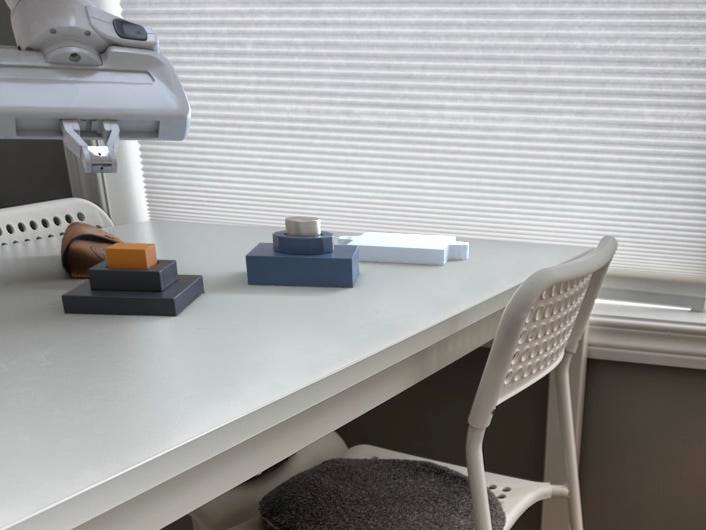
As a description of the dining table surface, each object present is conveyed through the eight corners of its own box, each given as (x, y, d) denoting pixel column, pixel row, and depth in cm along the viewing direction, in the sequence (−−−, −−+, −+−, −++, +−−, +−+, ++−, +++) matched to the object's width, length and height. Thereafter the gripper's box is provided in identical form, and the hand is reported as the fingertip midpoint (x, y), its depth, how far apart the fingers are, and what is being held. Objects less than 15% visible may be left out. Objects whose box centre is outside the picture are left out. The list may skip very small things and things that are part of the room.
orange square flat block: (108, 271, 88) (104, 248, 87) (119, 265, 91) (116, 242, 90) (148, 272, 88) (144, 249, 87) (157, 266, 91) (154, 243, 90)
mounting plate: (472, 251, 136) (473, 237, 135) (462, 266, 125) (463, 250, 124) (349, 245, 137) (348, 231, 136) (328, 259, 126) (327, 243, 125)
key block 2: (247, 285, 109) (243, 238, 106) (261, 270, 117) (258, 226, 115) (352, 288, 109) (351, 241, 107) (359, 273, 118) (358, 229, 115)
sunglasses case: (142, 272, 110) (103, 219, 106) (92, 306, 110) (51, 254, 106) (133, 248, 125) (98, 201, 121) (89, 279, 124) (52, 232, 120)
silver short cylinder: (283, 239, 109) (282, 220, 108) (288, 234, 112) (287, 215, 111) (318, 240, 109) (317, 221, 108) (322, 235, 113) (321, 217, 112)
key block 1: (67, 331, 86) (56, 274, 84) (107, 305, 97) (98, 253, 94) (178, 334, 87) (171, 277, 84) (206, 307, 97) (200, 256, 95)
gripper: (-54, 16, 87) (-20, 143, 85) (171, 30, 96) (208, 145, 94) (-46, 72, 93) (-13, 192, 90) (166, 80, 102) (201, 190, 99)
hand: (101, 168), depth 92 cm, fingers closed
